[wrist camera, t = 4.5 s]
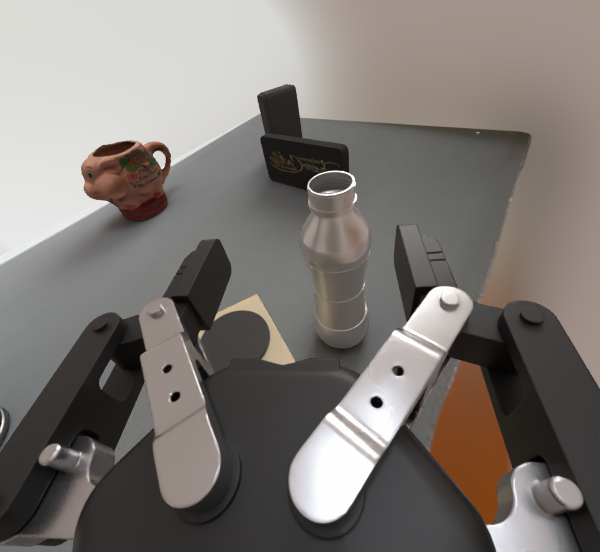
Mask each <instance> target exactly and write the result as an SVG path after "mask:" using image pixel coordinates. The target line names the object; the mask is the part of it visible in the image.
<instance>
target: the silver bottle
mask: <svg viewBox="0 0 600 552" xmlns="http://www.w3.org/2000/svg"><path fill="white" fill-rule="evenodd" d="M307 186H308V187H307V189H308V196H309V199H308V205H309V209H310V211H311V213H310V215H309V216H308V218H307V220H306V222H305V223H304V225H303V228H302V230H301V236H300V248H301V251H302V255H303V257H304V260H305V263H306V265H307V268H308V271H309V273H310V276H311V281H312V285H313V289H314V296H315V310H314V326H315V329H316V331H317V333H318V335H319V337H320V338H321V340H322V341H323V342H324V343H326V344H327V345H329V346H331V347H334V348H338V349H345V348H350V347H353V346H355V345H356V344H358V343H359V342H360V341H361V340H362V339H363V338H364V336H365V334H366V331H367V328H368V325H369V315H368V310H367V306H366V303H365V294H364V284H365V273H366V267H367V262H368V258H369V254H370V249H371V242H372V233H371V230H370V227H369V224H368V222H367V221H366V219H365V218H364V217H363V215H362V214H361V213H360V212H359V211H358V210H357V209H356V208H355V206H356V203H357V196H356V193H355V179H354V177H353V176H352V175H351V174H349V173H347V172H343V171H328V172H324V173H321V174H318V175H316V176H314V177H313V178H312V179H311V180H310V181H309V182H308V185H307Z"/></svg>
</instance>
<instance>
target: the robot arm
mask: <svg viewBox="0 0 600 552" xmlns="http://www.w3.org/2000/svg"><path fill="white" fill-rule="evenodd" d="M394 265H395V270H396V275H397V280H398V284H399V289H400V293H401V298H402V302H403V307H404V312H405V316H406V321H407V323H406V324H405V326H404V327H403V328H402V329H400V328H397V329H396V330H395V331H394V332H393V333H392V334H391V336H390V337H389V338H388V340H387V341H386V342H385V344H384V345H383V346H382V347H381V349H380V350H379V351H378V353H377V354H376V355H375V357H374V358H373V359H372V361H371V362H370V363H369V365H368V366H367V367H366V369H365V370H364V371H363V373H362V374H361V375H360V374H358V373H356V372H354V371H353V370H350V369H348V368H345V367H341V366H340V360H339V358H310V359H306V360H302V361H298V362H294V363H289V364H285V365H280V364H276V363H273V362H269V361H265V360H262V359H258V358H231V362H230V365H229V367H226V368H223V369H221V370H219V371H217V372H214V370H213V368H212V366H211V363H210V361H209V359H208V356H207V354H206V352H205V349H204V347H203V344H202V342H201V340H200V338H199V337H198V335H199V332H200V331H205V330H211V327H212V324H213V322H214V319H215V316H216V314H217V311H218V308H219V306H220V303H221V300H222V298H223V295H224V292H225V290H226V287H227V284H228V282H229V279H230V276H231V264H230V261H229V259H228V257H227V255H226V252H225V250H224V248H223V246H222V244H221V242H220V240H219V239H210V240H202V241H201V242H200V243H199V245H198V247H197V249H196V250H195V251H193V252H191V253H190V254H189V255H188V256H187V257H186V258H185V259H184V261H183V263H182V264H181V266H180V269H179V270H178V271H177V273H176V275H175V277H174V278H173V280H172V282H171V284H170V285H169V287H168V289H167V290H166V292H165V294H164V296H163V297H162V298H159V299H156V300H153V301H152V302H150V303H148V304H147V305H146V306H145V307H144V308H143V309H142V311H141V312H140V315H136V316H133V317H130V318H126V319H122V318H121V317H120V316H119V315H118V314H116V313H106V314H103V315H101V316H99V317H97V318H96V319H94V320H93V321H92V322H91V323H90V324H89V325H88V326H87V327H86V328H85V330H84V331H83V333H82V334H81V336H80V337H79V339H78V340H77V342H76V343H75V344H74V346H73V347H72V349H71V350H70V352H69V353H68V355H67V356H66V358H65V359H64V360H63V362H62V363H61V365H60V366H59V368H58V369H57V371H56V372H55V373H54V375H53V376H52V378H51V379H50V381H49V382H48V384H47V385H46V387H45V388H44V389H43V391H42V392H41V394H40V395H39V397H38V398H37V400H36V401H35V403H34V404H33V405H32V407H31V408H30V410H29V411H28V413H27V414H26V416H25V417H24V418H23V420H22V421H21V423H20V424H19V426H18V427H17V429H16V430H15V432H14V433H13V434H12V436H11V437H10V439H9V440H8V442H7V443H6V445H5V446H4V448H3V449H2V450H1V452H0V545H6V546H27V547H31V546H35V545H44V546H57V545H60V544H62V543H64V542H65V541H67V540H74V542H73V551H72V552H600V389H599V387H598V385H597V384H596V382H595V380H594V379H593V377H592V375H591V374H590V372H589V370H588V369H587V367H586V365H585V364H584V362H583V360H582V359H581V357H580V355H579V354H578V352H577V350H576V349H575V347H574V345H573V344H572V342H571V340H570V339H569V337H568V335H567V334H566V332H565V330H564V329H563V327H562V325H561V324H560V322H559V320H558V319H557V317H556V316H555V315H554V314H553V313H552V312H551V311H550V310H548V309H547V308H545V307H543V306H541V305H539V304H537V303H534V302H530V301H513V302H511V303H509V304H507V305H506V306H505V308H504V309H502V308H497V307H492V306H487V305H483V304H479V303H476V302H474V301H472V299H471V298H470V297H469V295H468V294H466V293H465V292H464V291H462V290H460V289H458V287H457V285H456V282H455V280H454V278H453V275H452V273H451V270H450V268H449V266H448V263H447V261H446V258H445V256H444V254H443V251H442V249H441V246H440V244H439V242H438V241H437V240H435V239H434V238H433V237H432V236H431V235H420V232H419V229H418V226H417V224H406V225H397V228H396V238H395V249H394ZM451 358H455V359H458V360H462V361H466V362H469V363H473V364H476V365H480V367H481V370H482V373H483V376H484V380H485V383H486V386H487V389H488V392H489V395H490V398H491V402H492V405H493V408H494V411H495V414H496V417H497V420H498V423H499V427H500V430H501V433H502V436H503V439H504V442H505V446H506V448H507V452H508V455H509V458H510V461H511V465H512V467H513V470H511V471H509V472H508V473H506V474H505V475H503V476H502V477H501V479H500V480H499V482H498V485H497V498H498V513H497V516H496V518H495V520H494V521H493V523H492V524H490V525H488V524H485V522H484V520H483V519H482V517H481V515H480V514H479V512H478V511H477V509H476V508H475V506H474V505H473V504H472V502H471V501H470V500H469V499H468V498H467V497H466V495H465V494H464V493H463V492H462V490H461V489H460V488H459V487H458V486H457V485H456V483H455V482H454V481H453V480H452V479H451V478H450V476H449V475H448V474H447V473H446V472H445V470H444V469H443V468H442V467H441V466H440V464H439V463H438V462H437V461H436V460H435V459H434V458H433V456H432V455H431V454H430V453H429V451H428V450H427V449H426V448H425V447H424V445H423V444H422V443H421V442H420V441H419V440H418V438H417V437H416V436H415V435H414V434H413V432H412V431H411V429H412V427H413V425H414V424H415V422H416V420H417V419H418V417H419V415H420V413H421V412H422V410H423V408H424V406H425V404H426V402H427V400H428V398H429V396H430V394H431V392H432V391H433V389H434V387H435V385H436V384H437V382H438V380H439V378H440V377H441V375H442V373H443V372H444V370H445V368H446V366H447V365H448V363H449V361H450V359H451ZM110 359H111V360H112V361H113V362H114V363H116V365H115V367H114V368H113V370H112V372H111V374H110V376H109V378H108V380H107V381H106V383H105V385H104V387H103V389H102V390H101V389H100V387H99V379H100V377H101V375H102V373H103V371H104V369H105V368H106V366H107V364H108V362H109V361H110ZM144 382H145V386H146V391H147V396H148V401H149V406H150V411H151V416H152V421H153V426H154V428H153V429H152V430H151V431H150V432H149V433H148V434H147V435H146V436H145V437H144V438H143V439H142V440H141V441H140V442H139V443H138V444H136V445H135V446H134V447H133V448H132V449H131V450H130V451H129V452H128V453H127V454H126V455H125V456H124V457H123V458H122V459H121V460H120V461H119V462H118V463H117V464H116V465H114V461H115V454H114V450H115V448H116V446H117V444H118V441H119V439H120V437H121V434H122V432H123V430H124V428H125V425H126V423H127V421H128V418H129V416H130V414H131V412H132V409H133V407H134V405H135V402H136V400H137V398H138V396H139V393H140V391H141V389H142V386H143V384H144ZM8 425H9V415H8V413H7V411H6V410H5V409H3V408H1V407H0V445H1V443H2V441H3V439H4V437H5V435H6V432H7V429H8Z"/></svg>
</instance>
